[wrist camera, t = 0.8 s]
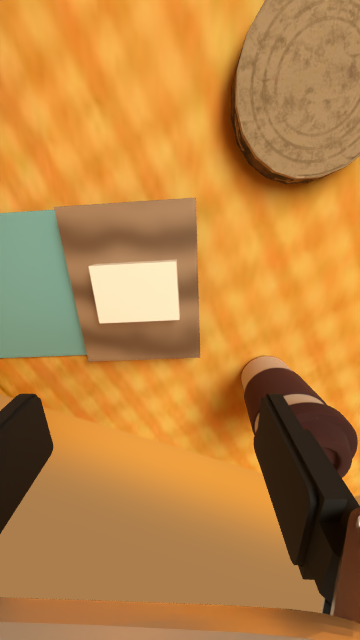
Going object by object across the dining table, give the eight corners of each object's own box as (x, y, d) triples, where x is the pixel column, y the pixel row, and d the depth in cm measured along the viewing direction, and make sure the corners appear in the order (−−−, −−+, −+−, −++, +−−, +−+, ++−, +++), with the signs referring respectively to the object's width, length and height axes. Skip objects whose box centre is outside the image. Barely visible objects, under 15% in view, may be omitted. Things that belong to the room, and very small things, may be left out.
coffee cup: (233, 347, 34) (267, 426, 20) (300, 345, 33) (384, 424, 19) (230, 401, 37) (258, 501, 23) (291, 400, 37) (357, 500, 23)
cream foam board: (95, 264, 27) (88, 266, 26) (176, 259, 27) (175, 261, 25) (104, 318, 30) (99, 323, 28) (179, 314, 29) (179, 319, 28)
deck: (65, 209, 28) (53, 207, 25) (194, 201, 27) (195, 197, 25) (95, 353, 35) (88, 361, 32) (199, 349, 34) (200, 357, 32)
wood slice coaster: (238, 199, 27) (244, 194, 24) (219, 19, 22) (224, -13, 19) (378, 166, 26) (401, 158, 23) (394, -35, 20) (427, -79, 18)
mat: (-90, 219, 28) (-93, 219, 28) (57, 210, 28) (55, 209, 27) (-30, 358, 35) (-32, 359, 35) (88, 353, 35) (87, 354, 34)
